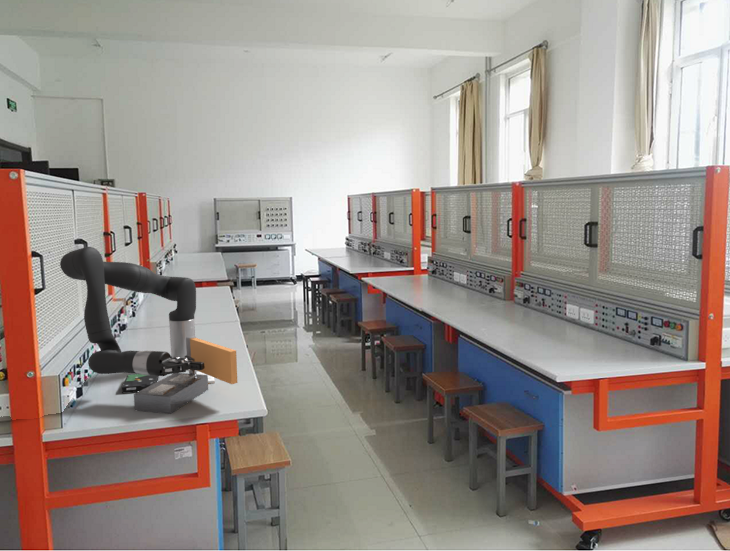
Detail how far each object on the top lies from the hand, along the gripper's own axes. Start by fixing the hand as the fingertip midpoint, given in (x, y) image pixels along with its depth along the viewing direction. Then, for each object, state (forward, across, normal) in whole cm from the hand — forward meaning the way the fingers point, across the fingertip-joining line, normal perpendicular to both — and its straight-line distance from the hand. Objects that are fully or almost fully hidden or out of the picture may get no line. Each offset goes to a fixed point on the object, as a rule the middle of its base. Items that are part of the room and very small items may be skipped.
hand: (203, 366), depth 175 cm
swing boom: (-1, +7, +5) cm, 9 cm away
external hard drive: (-14, +23, +13) cm, 30 cm away
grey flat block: (-12, +2, +12) cm, 17 cm away
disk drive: (-31, +13, +13) cm, 36 cm away
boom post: (-12, +14, +12) cm, 22 cm away
